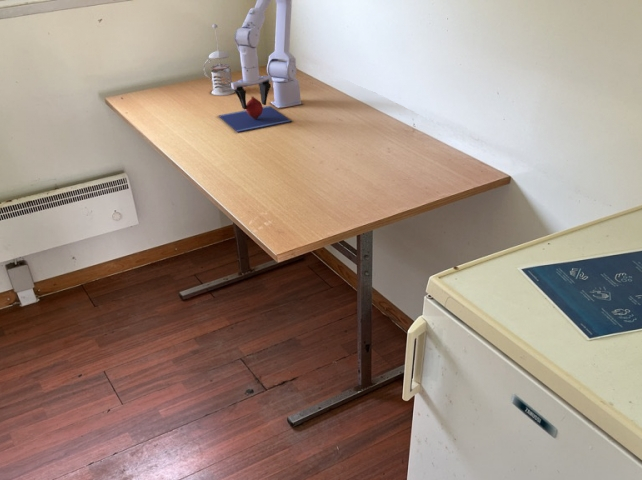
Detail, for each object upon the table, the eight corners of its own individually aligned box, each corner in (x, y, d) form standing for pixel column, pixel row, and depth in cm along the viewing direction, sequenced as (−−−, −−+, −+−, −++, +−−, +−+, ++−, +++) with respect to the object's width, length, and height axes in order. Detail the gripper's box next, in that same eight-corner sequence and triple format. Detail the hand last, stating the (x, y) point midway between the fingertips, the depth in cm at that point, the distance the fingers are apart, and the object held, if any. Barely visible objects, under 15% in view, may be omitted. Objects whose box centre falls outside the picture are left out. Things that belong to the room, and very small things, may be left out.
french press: (234, 94, 261) (225, 26, 246) (204, 95, 261) (194, 27, 246) (237, 87, 268) (229, 20, 254) (209, 88, 269) (199, 21, 254)
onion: (264, 116, 237) (262, 93, 233) (262, 121, 233) (260, 98, 228) (248, 116, 238) (245, 93, 233) (246, 121, 233) (243, 98, 228)
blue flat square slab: (269, 107, 247) (269, 105, 247) (291, 122, 232) (291, 120, 232) (218, 116, 240) (218, 115, 240) (238, 132, 225) (237, 131, 225)
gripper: (263, 60, 230) (267, 99, 238) (225, 67, 224) (230, 107, 232) (272, 64, 225) (276, 104, 233) (234, 71, 219) (239, 112, 228)
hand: (254, 106), depth 233 cm, fingers open, 7 cm apart
